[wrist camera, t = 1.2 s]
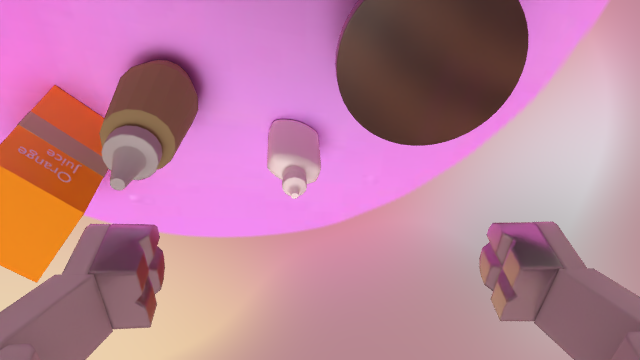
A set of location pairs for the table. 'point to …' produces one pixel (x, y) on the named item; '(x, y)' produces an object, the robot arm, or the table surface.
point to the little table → (429, 65)
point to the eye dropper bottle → (293, 155)
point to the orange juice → (47, 180)
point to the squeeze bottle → (146, 120)
